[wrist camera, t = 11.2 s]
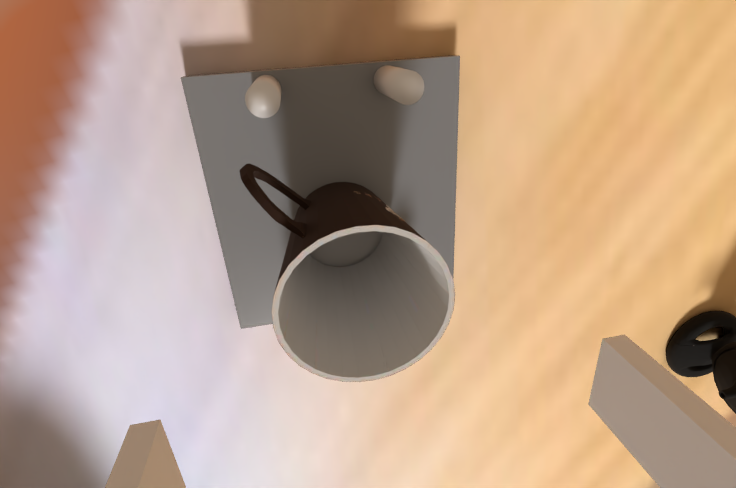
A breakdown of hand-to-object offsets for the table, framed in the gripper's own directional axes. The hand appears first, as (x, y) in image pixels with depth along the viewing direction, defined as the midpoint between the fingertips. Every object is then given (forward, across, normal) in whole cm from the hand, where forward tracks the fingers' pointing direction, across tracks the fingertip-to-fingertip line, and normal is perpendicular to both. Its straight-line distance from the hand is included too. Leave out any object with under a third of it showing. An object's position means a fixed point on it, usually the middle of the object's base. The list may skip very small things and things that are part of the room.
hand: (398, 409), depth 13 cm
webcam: (+18, +34, -19) cm, 43 cm away
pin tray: (+18, 0, 0) cm, 19 cm away
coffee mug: (+18, 0, 0) cm, 18 cm away
